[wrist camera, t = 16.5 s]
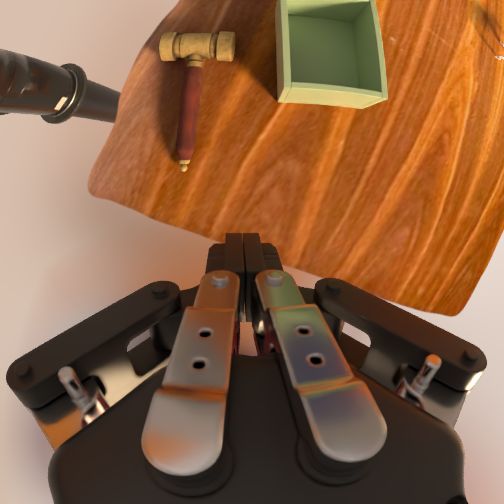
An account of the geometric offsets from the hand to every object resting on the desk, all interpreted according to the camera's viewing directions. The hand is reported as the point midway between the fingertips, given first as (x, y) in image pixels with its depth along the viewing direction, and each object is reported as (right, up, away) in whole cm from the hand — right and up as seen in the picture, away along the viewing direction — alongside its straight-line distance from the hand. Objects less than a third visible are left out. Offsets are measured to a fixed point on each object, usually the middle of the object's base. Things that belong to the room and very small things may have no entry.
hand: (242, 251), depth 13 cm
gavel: (-8, +21, +22) cm, 32 cm away
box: (+10, +28, +20) cm, 36 cm away
